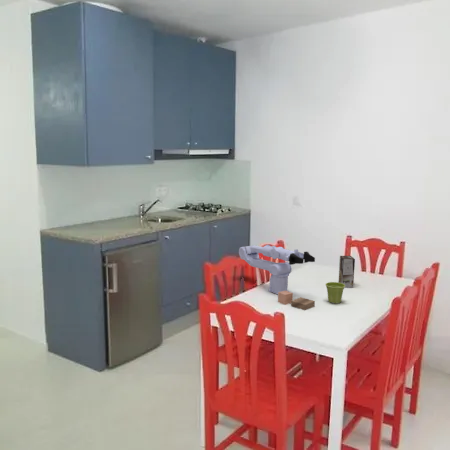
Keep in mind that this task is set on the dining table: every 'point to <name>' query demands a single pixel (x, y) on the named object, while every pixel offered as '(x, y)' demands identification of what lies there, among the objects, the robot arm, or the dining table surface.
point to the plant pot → (335, 291)
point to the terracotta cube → (285, 297)
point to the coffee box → (346, 271)
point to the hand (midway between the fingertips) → (308, 260)
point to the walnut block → (302, 303)
